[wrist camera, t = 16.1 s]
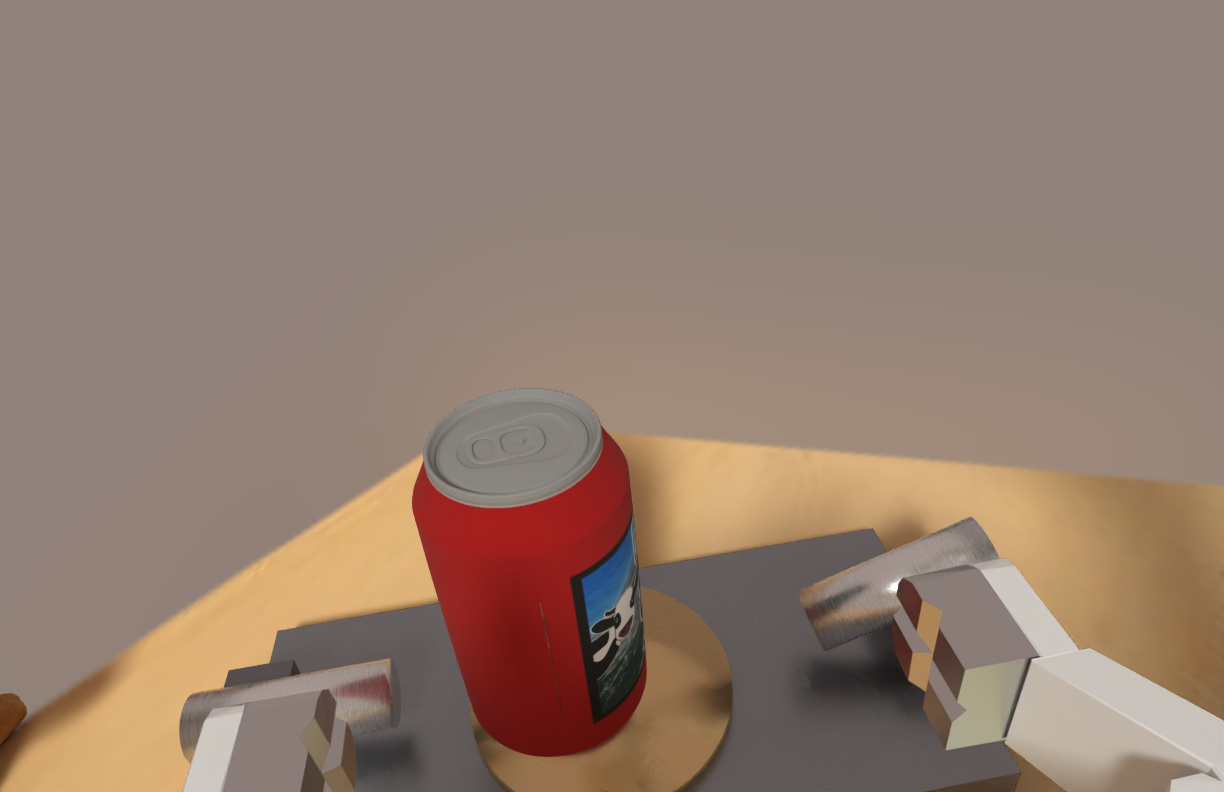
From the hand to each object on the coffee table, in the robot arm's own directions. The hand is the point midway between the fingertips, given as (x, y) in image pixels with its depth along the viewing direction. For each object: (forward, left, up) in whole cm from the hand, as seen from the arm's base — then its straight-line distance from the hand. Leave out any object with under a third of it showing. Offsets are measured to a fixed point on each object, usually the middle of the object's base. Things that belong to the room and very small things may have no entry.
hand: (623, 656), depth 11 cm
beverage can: (-4, -11, -17) cm, 21 cm away
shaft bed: (-6, -10, -18) cm, 22 cm away
